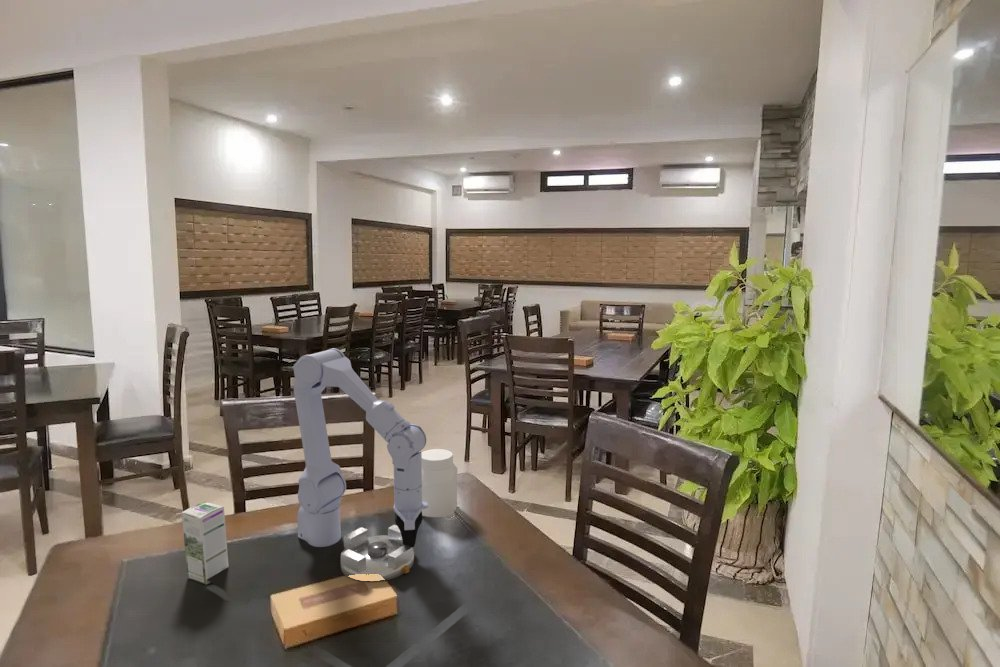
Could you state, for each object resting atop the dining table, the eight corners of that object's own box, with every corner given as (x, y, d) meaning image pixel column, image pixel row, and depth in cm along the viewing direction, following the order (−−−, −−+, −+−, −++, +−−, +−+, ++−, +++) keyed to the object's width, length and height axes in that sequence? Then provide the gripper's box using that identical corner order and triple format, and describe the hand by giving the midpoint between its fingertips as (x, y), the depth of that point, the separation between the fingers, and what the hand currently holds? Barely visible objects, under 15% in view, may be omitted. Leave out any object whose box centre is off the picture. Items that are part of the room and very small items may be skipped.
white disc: (325, 566, 122) (324, 546, 121) (378, 537, 134) (378, 518, 133) (380, 592, 113) (379, 570, 112) (432, 558, 125) (432, 538, 124)
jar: (451, 522, 144) (451, 463, 141) (412, 520, 144) (411, 462, 142) (459, 502, 155) (458, 447, 153) (423, 500, 156) (422, 446, 154)
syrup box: (230, 571, 122) (225, 505, 120) (205, 586, 117) (200, 517, 114) (210, 564, 124) (206, 499, 122) (185, 579, 119) (180, 511, 117)
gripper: (429, 498, 116) (430, 562, 118) (425, 470, 130) (426, 528, 132) (393, 500, 115) (394, 565, 117) (392, 472, 129) (394, 530, 131)
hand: (409, 546), depth 124 cm, fingers closed
